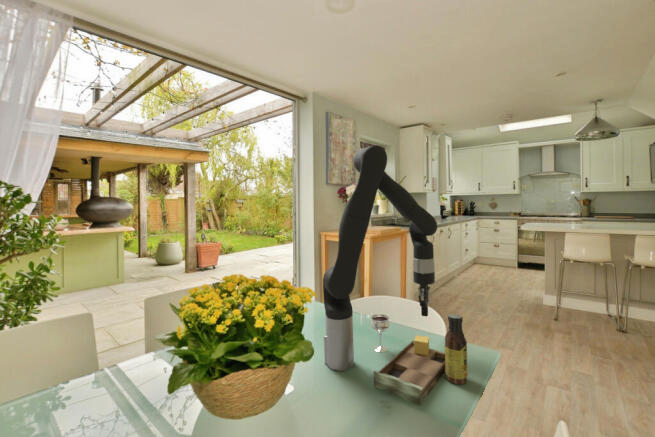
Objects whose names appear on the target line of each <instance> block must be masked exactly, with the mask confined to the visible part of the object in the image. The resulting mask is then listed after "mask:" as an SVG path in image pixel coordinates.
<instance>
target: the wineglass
mask: <svg viewBox="0 0 655 437" xmlns="http://www.w3.org/2000/svg"><path fill="white" fill-rule="evenodd" d="M370 318H371V321H370V325H371V328H372V329H374V330H375V332H378V334H379V345H375V346H374V347H373V349H374V351H375V352H378V353H386V352H387V351H388V348H387V347H386V346H385V345H382V333H383V332H385V331H386V330H388V329H389V327H390V321H389V319H390V316H388V315H387V314H380V313H377V314H373V315H371V317H370Z"/></svg>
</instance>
